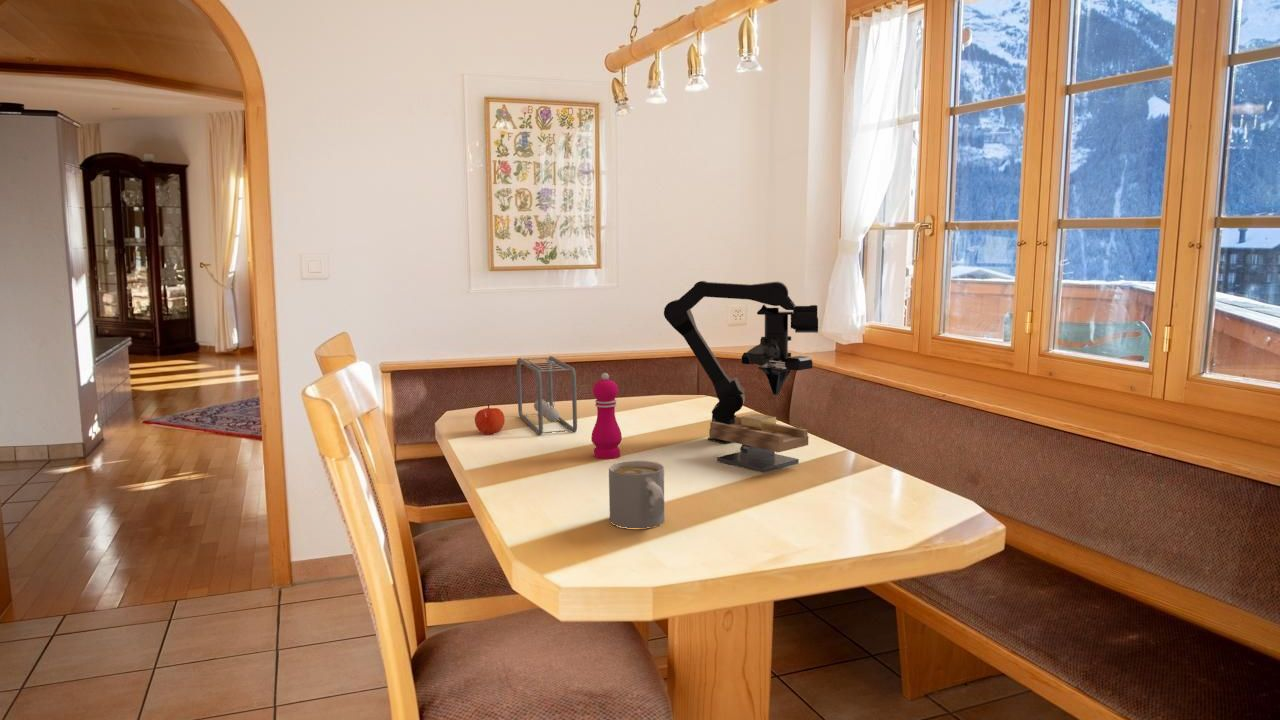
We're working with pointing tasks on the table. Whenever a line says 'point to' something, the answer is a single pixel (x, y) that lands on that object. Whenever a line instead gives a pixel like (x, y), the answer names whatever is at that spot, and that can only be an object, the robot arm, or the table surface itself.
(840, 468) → the table surface
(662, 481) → the coffee mug
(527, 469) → the table surface
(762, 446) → the wooden tray
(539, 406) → the newton's cradle
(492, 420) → the apple
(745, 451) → the fulcrum stand
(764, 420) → the tan wooden block
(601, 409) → the pepper mill
